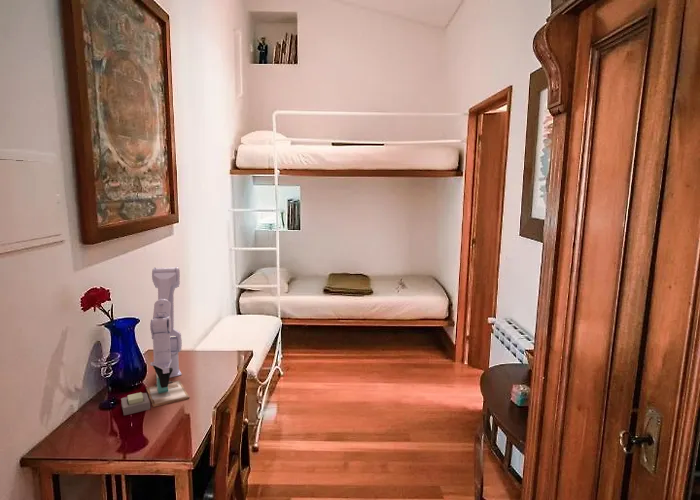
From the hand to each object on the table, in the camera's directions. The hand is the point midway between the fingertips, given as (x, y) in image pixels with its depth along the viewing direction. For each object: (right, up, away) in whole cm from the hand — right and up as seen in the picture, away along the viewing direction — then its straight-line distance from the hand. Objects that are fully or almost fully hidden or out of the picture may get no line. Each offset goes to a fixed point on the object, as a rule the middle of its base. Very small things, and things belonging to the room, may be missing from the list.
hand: (163, 385), depth 155 cm
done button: (-5, -3, -10) cm, 12 cm away
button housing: (-5, -4, -10) cm, 12 cm away
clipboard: (+1, -3, 0) cm, 3 cm away
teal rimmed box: (0, -2, 0) cm, 2 cm away
